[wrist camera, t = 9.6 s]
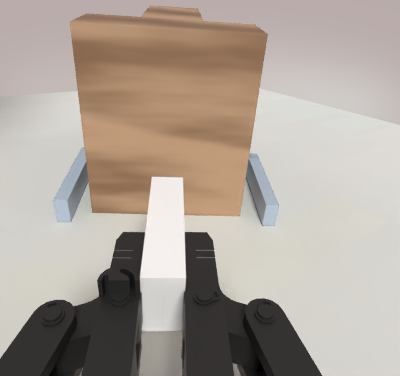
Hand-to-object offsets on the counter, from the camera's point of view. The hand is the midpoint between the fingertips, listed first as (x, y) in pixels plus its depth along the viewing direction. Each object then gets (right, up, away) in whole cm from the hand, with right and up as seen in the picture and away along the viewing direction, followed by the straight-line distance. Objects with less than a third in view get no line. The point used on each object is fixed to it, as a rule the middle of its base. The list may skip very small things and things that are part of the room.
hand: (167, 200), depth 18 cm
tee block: (-1, +2, +17) cm, 17 cm away
